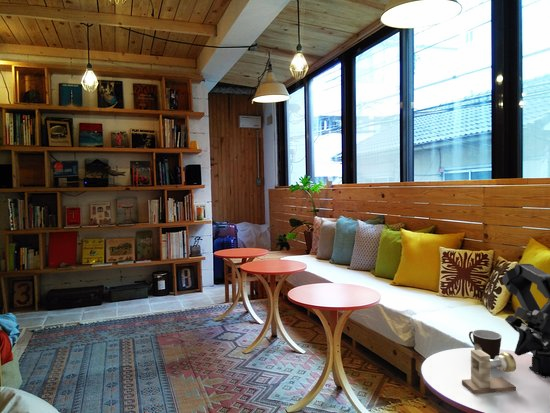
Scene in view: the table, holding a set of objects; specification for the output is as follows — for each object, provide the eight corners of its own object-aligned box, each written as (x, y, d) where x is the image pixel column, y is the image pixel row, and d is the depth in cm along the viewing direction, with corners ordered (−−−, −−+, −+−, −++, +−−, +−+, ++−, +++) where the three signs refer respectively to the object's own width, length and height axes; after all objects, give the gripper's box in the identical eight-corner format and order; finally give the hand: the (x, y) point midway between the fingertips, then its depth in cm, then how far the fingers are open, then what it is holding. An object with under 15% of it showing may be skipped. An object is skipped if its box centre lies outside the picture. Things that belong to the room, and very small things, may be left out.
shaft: (503, 366, 117) (503, 350, 116) (516, 374, 111) (516, 357, 111) (476, 368, 116) (476, 351, 116) (487, 376, 111) (487, 359, 110)
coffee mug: (505, 370, 124) (505, 339, 124) (477, 368, 126) (477, 338, 125) (493, 355, 135) (493, 327, 135) (466, 353, 137) (466, 326, 137)
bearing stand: (502, 380, 117) (501, 347, 117) (516, 390, 111) (516, 355, 111) (461, 383, 116) (461, 349, 116) (474, 394, 110) (473, 358, 110)
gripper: (510, 289, 123) (478, 325, 122) (559, 307, 105) (522, 350, 104) (532, 312, 124) (501, 348, 124) (585, 334, 106) (548, 376, 105)
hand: (516, 354), depth 114 cm, fingers closed
